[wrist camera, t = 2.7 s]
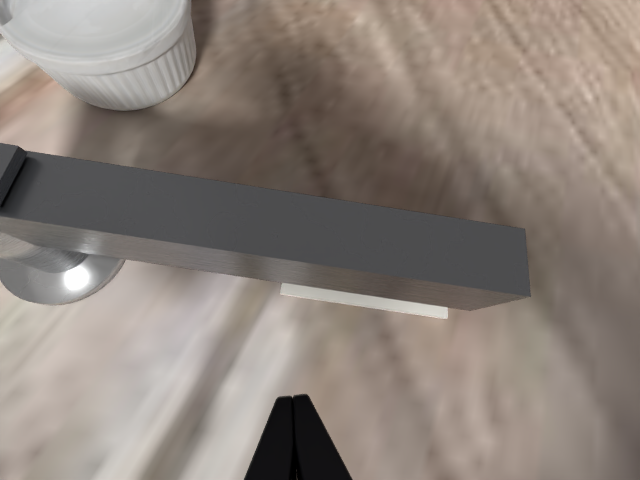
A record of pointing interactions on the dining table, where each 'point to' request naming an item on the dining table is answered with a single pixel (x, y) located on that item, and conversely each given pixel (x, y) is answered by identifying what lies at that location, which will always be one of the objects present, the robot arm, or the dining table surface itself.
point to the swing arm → (259, 232)
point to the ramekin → (106, 46)
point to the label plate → (364, 301)
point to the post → (52, 272)
